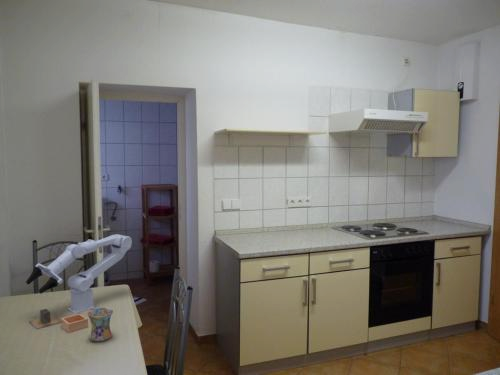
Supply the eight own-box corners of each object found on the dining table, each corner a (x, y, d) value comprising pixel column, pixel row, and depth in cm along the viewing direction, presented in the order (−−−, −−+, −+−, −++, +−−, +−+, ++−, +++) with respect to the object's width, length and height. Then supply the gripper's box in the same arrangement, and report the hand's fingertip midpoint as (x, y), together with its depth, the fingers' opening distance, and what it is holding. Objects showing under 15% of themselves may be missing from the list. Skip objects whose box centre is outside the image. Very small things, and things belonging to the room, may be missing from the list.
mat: (54, 316, 179) (54, 315, 179) (63, 323, 171) (63, 322, 171) (27, 323, 171) (27, 322, 171) (36, 331, 163) (36, 330, 163)
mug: (115, 339, 157) (115, 313, 156) (90, 345, 152) (90, 318, 151) (108, 328, 167) (108, 303, 166) (84, 333, 162) (84, 308, 161)
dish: (80, 322, 173) (79, 313, 172) (88, 328, 167) (87, 318, 167) (60, 327, 167) (60, 318, 167) (68, 334, 161) (68, 324, 161)
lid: (53, 315, 178) (53, 305, 178) (62, 322, 171) (61, 311, 171) (28, 322, 171) (28, 310, 171) (37, 329, 164) (36, 317, 164)
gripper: (45, 252, 177) (18, 274, 169) (68, 268, 173) (42, 291, 165) (49, 260, 182) (23, 282, 174) (72, 276, 178) (47, 299, 170)
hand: (33, 287), depth 170 cm, fingers open, 7 cm apart
